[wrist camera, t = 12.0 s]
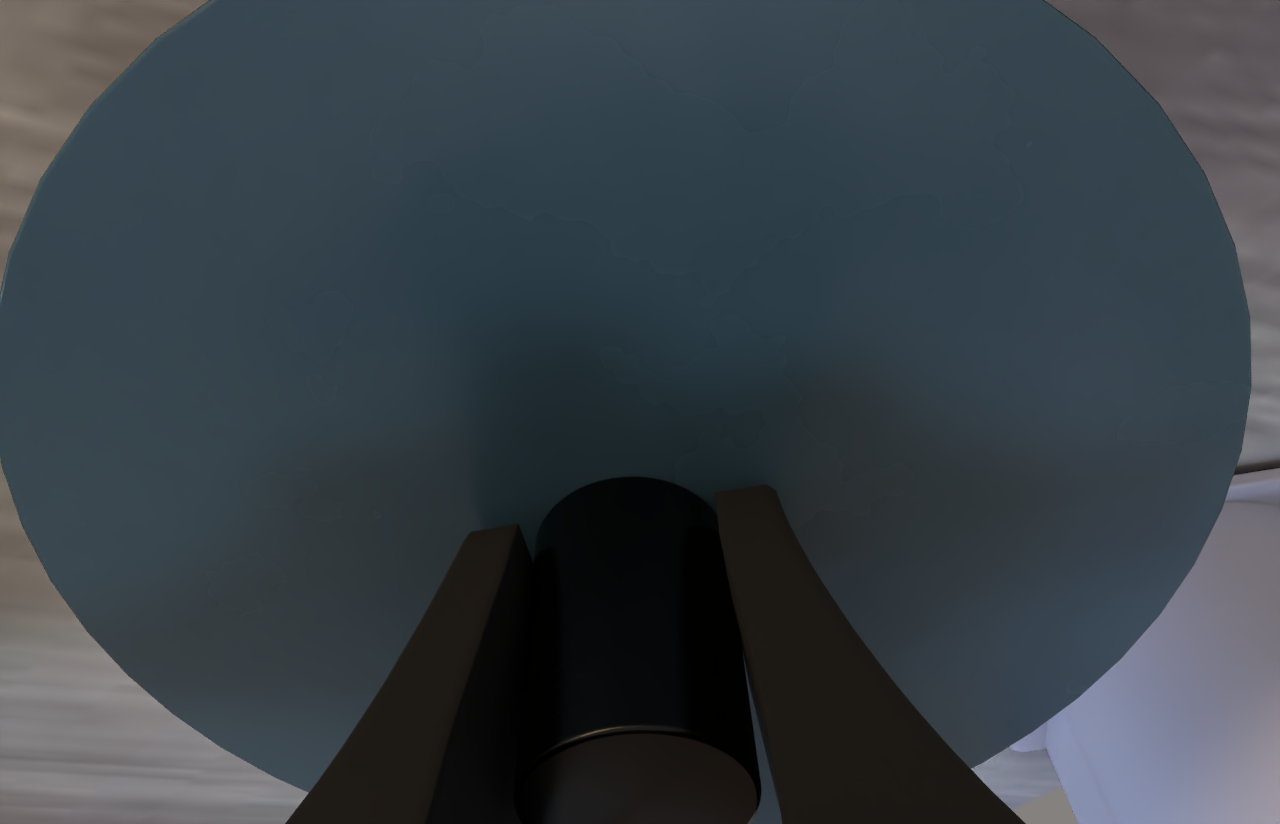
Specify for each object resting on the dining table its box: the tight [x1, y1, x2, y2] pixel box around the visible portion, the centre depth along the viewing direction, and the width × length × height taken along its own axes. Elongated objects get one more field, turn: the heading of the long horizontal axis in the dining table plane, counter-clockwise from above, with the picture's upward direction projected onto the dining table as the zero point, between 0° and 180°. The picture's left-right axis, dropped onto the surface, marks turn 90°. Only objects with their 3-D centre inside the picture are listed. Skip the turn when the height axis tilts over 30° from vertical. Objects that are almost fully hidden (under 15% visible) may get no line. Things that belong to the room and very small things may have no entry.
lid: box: [0, 0, 1251, 824], centre depth 11 cm, size 15×15×5 cm
